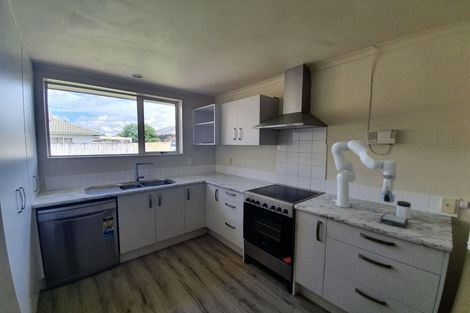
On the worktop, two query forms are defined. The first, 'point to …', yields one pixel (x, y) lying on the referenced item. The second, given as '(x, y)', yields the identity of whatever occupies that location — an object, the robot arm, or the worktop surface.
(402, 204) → the jar
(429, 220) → the worktop surface
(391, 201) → the bowl
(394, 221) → the scale
